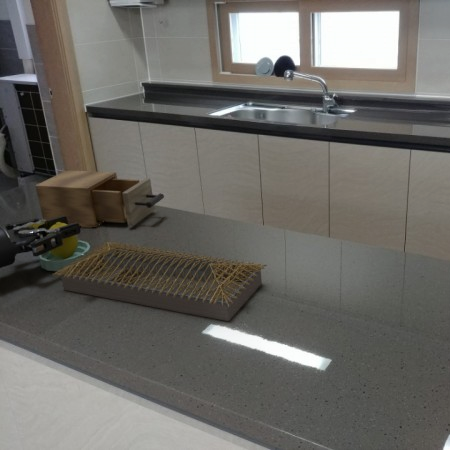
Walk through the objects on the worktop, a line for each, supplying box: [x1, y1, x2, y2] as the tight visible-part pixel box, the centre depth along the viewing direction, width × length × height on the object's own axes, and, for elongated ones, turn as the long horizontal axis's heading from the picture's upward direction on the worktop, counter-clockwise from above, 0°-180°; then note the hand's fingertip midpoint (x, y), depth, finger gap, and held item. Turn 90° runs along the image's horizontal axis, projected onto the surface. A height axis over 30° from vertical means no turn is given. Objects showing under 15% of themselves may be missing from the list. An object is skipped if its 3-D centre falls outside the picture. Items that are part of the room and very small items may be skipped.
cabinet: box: [34, 169, 118, 229], centre depth 127 cm, size 14×12×10 cm
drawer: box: [90, 177, 165, 227], centre depth 124 cm, size 17×10×8 cm, turn 76°
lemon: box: [47, 222, 79, 259], centre depth 105 cm, size 6×6×8 cm
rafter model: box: [52, 241, 268, 322], centre depth 95 cm, size 35×14×6 cm, turn 69°
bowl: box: [38, 239, 92, 272], centre depth 106 cm, size 9×9×2 cm
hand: (72, 224), depth 106 cm, fingers closed on lemon, 5 cm apart
